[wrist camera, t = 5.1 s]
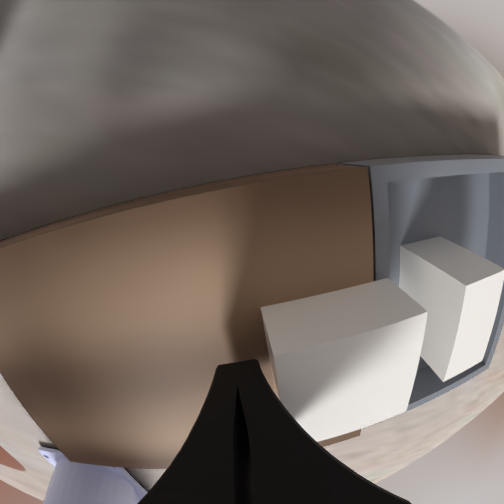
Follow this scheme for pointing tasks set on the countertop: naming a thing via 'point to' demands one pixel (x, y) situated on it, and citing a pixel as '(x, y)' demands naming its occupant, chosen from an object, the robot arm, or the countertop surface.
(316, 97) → the countertop surface
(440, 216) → the box
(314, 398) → the tile front
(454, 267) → the tile back
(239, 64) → the countertop surface
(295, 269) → the walnut board
